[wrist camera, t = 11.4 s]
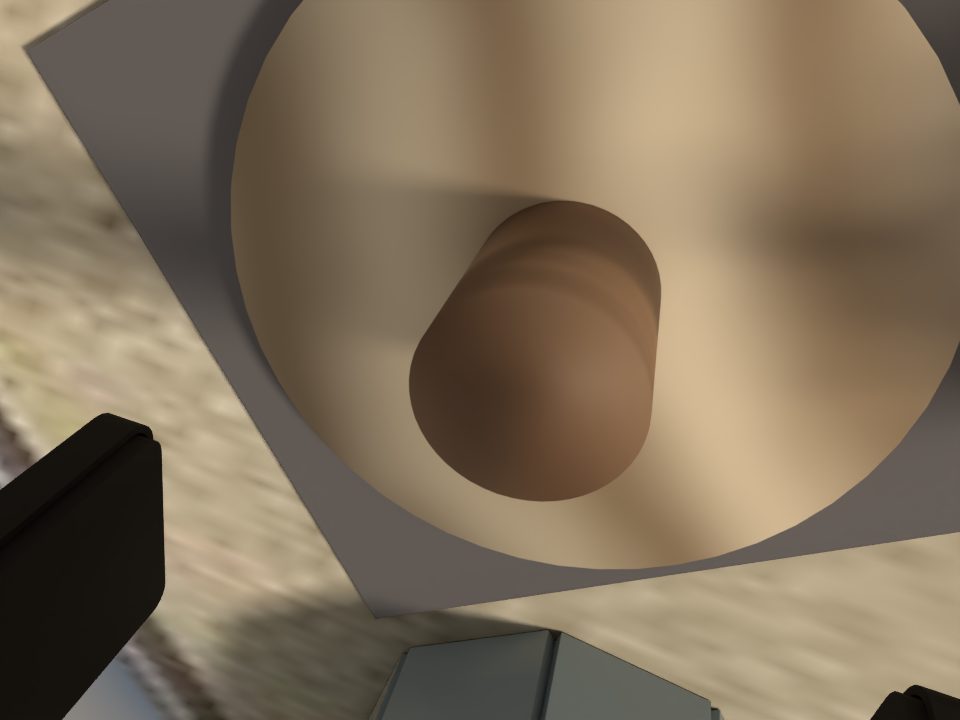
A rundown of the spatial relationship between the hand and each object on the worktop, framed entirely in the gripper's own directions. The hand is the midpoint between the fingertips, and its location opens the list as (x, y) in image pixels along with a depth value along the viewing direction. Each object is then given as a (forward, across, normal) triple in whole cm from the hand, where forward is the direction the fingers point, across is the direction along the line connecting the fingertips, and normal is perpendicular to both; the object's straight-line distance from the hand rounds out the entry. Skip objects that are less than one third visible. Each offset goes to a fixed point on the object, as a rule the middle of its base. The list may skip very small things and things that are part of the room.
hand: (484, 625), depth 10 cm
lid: (+11, +1, 0) cm, 11 cm away
